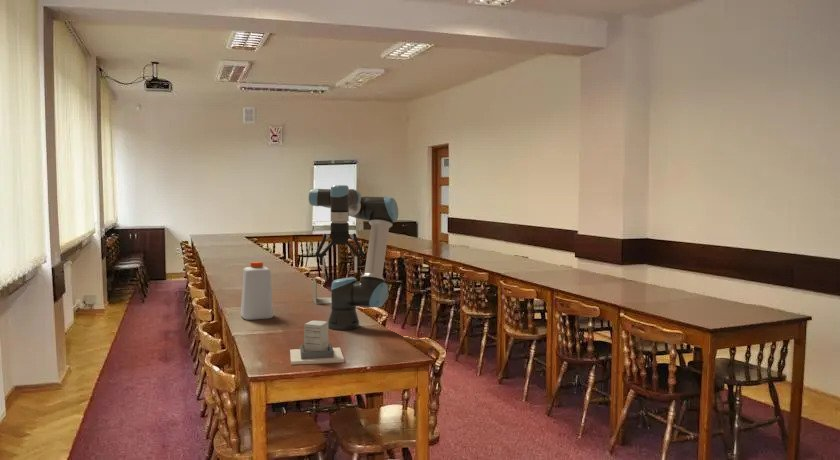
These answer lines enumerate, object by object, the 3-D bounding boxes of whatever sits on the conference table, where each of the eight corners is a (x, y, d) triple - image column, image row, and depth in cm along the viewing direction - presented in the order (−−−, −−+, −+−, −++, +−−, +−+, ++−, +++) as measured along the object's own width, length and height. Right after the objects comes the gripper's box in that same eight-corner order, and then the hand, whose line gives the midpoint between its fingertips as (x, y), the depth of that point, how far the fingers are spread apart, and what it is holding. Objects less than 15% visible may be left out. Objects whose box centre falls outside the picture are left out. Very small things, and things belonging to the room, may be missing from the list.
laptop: (338, 304, 369) (338, 281, 369) (315, 304, 366) (315, 282, 365) (333, 298, 387) (333, 276, 386) (312, 299, 384) (312, 277, 383)
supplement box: (311, 351, 260) (311, 320, 259) (328, 352, 258) (329, 321, 257) (303, 355, 253) (303, 323, 252) (321, 357, 251) (321, 325, 250)
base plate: (290, 352, 262) (290, 349, 262) (339, 350, 266) (339, 347, 266) (291, 364, 245) (291, 361, 244) (344, 362, 249) (344, 359, 249)
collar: (299, 350, 260) (299, 344, 260) (331, 349, 263) (331, 343, 263) (301, 359, 248) (301, 352, 248) (333, 357, 251) (333, 351, 251)
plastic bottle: (244, 321, 320) (243, 264, 318) (239, 315, 334) (239, 261, 332) (274, 318, 326) (274, 263, 324) (269, 313, 340) (268, 260, 338)
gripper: (309, 223, 264) (310, 274, 266) (370, 222, 270) (370, 273, 272) (308, 221, 272) (309, 271, 273) (368, 221, 277) (368, 270, 279)
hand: (339, 272), depth 273 cm, fingers open, 13 cm apart
